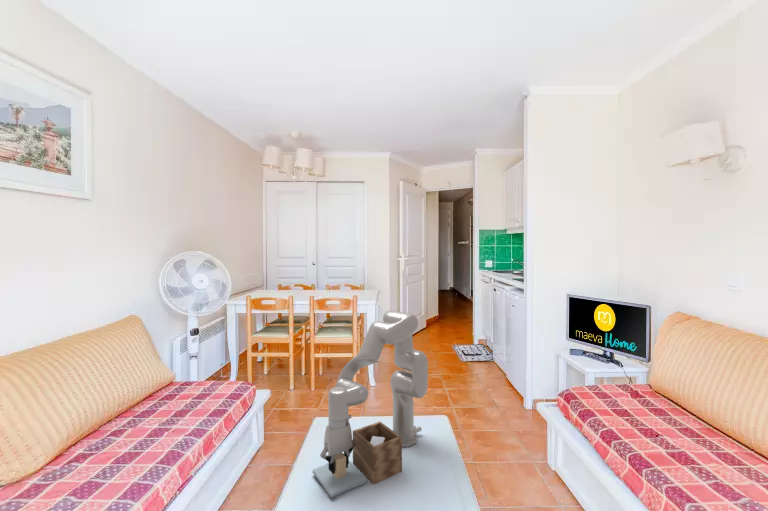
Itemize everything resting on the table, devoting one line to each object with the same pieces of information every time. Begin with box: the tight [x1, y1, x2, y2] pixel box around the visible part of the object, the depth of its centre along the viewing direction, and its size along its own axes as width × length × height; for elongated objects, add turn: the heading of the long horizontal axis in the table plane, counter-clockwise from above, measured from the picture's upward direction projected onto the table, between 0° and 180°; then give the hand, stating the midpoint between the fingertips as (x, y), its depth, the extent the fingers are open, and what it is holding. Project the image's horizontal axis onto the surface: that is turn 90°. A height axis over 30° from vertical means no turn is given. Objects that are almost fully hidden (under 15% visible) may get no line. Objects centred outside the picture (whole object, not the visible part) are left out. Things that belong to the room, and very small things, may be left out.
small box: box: [370, 436, 385, 446], centre depth 138 cm, size 8×6×10 cm
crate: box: [352, 421, 403, 486], centre depth 138 cm, size 13×15×14 cm
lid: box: [311, 452, 367, 498], centre depth 130 cm, size 14×16×9 cm
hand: (338, 468), depth 130 cm, fingers open, 5 cm apart
